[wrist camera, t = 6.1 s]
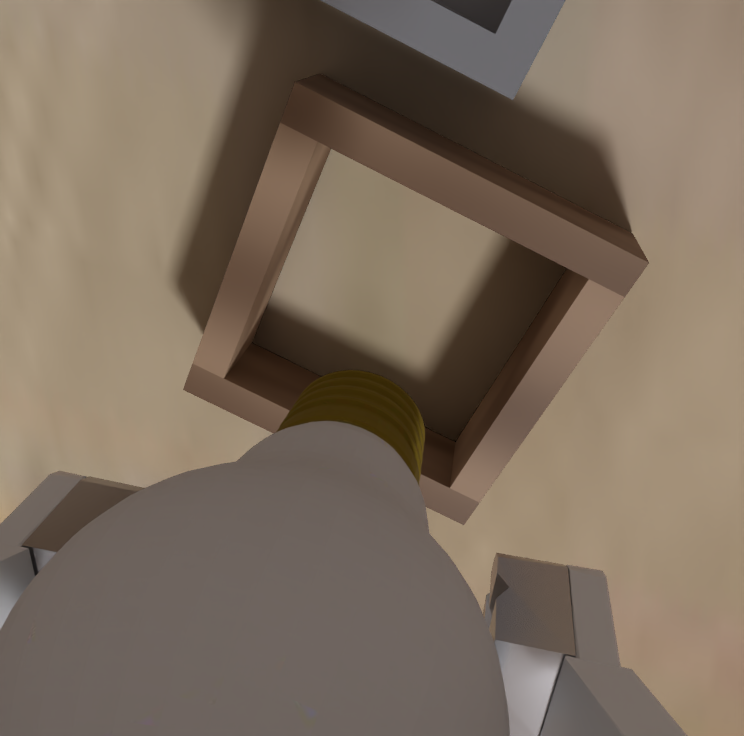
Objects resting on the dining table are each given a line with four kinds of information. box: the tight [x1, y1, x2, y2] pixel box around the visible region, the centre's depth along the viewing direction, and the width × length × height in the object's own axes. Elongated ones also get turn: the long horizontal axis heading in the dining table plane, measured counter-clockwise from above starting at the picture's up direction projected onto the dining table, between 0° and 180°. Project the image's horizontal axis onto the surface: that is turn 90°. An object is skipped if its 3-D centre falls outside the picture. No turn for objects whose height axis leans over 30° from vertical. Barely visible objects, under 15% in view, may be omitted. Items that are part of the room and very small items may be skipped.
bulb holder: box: [183, 74, 649, 525], centre depth 20 cm, size 9×9×2 cm
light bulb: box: [0, 370, 510, 736], centre depth 10 cm, size 6×6×10 cm
